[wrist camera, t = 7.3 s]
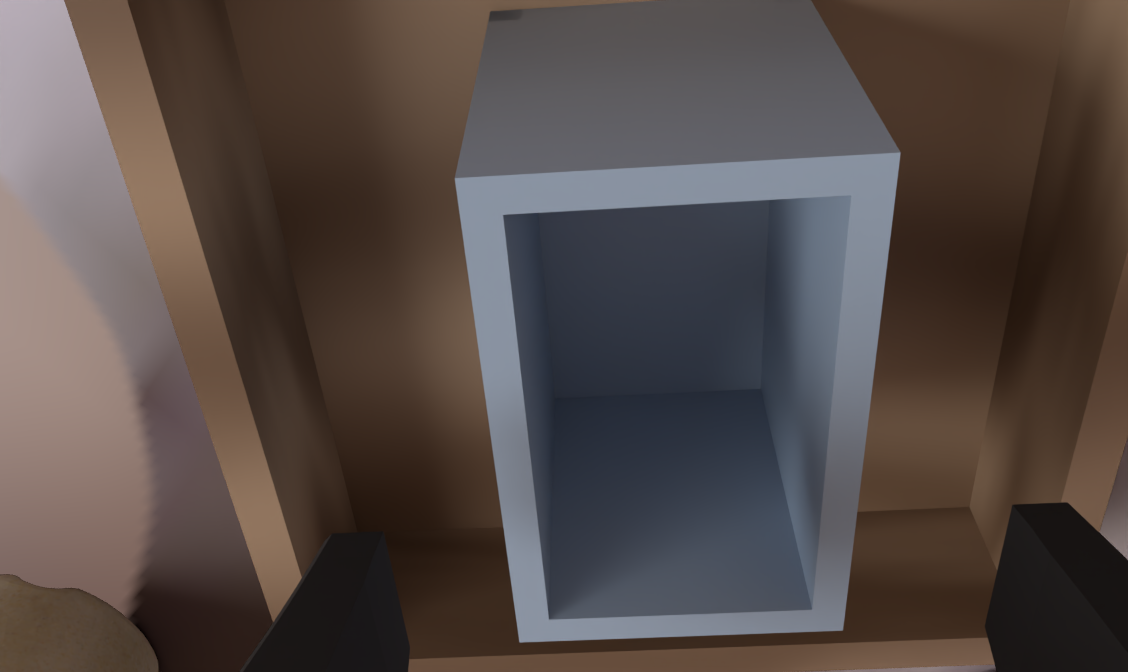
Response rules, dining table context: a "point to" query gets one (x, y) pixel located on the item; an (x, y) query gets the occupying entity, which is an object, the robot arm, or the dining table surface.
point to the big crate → (447, 327)
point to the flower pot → (66, 632)
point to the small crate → (675, 311)
